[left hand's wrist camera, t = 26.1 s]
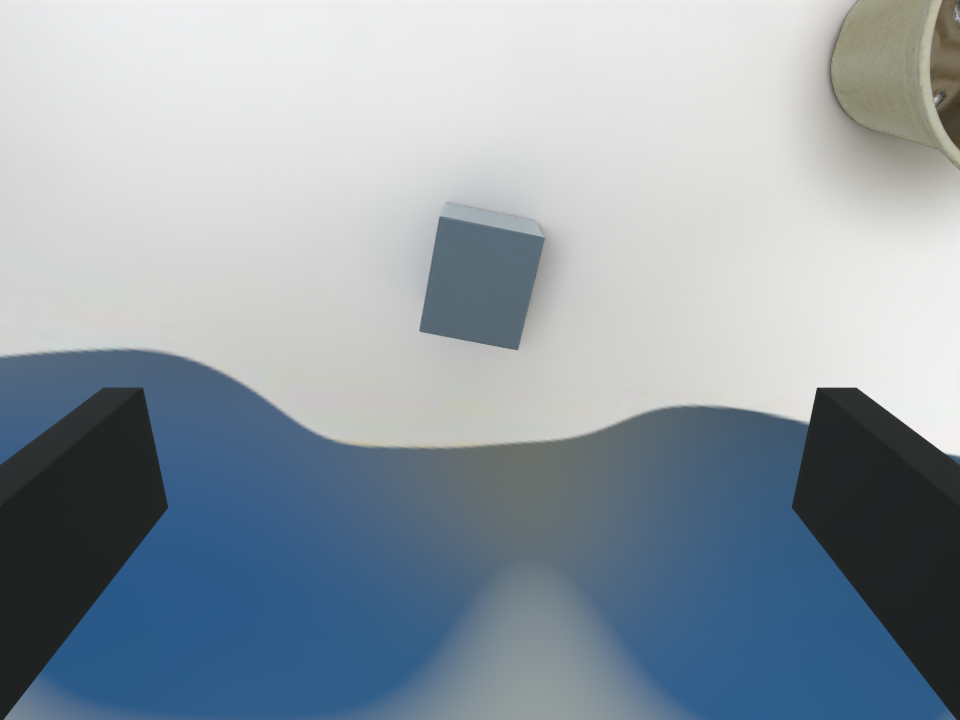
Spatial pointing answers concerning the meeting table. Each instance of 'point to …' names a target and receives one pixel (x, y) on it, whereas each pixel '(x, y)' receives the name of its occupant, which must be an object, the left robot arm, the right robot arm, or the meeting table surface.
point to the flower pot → (902, 70)
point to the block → (481, 276)
